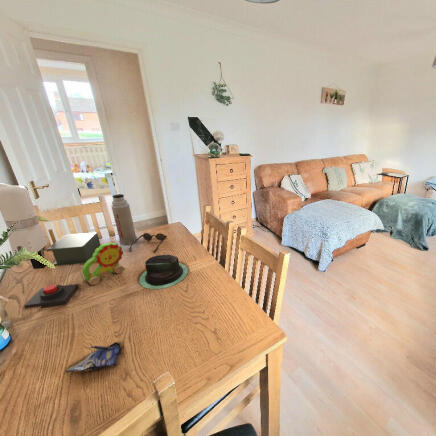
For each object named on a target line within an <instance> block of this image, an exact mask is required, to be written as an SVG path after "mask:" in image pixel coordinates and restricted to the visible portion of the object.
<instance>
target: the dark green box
mask: <svg viewBox="0 0 436 436" xmlns="http://www.w3.org/2000/svg"><path fill="white" fill-rule="evenodd" d="M100 245H102V244H101V242H100V237H99V233H98V232H95V231H94V232H79V233H66V234H63V236H61V237H60V238H59V239H56V242H55V243H54V244H53V243H52V244H51V245H49V246H48V247H47V248H45V250H46V252H52V254H53V257H54V260H55V261H54V262H53V263H52V264H54V265H55V266H54V267H56V266H67V265H78V264H85V263H86V262H87V261H88V260H89V259H90V258H92V255H93V253H94V252H95V250H96V249H97V248H99V246H100Z"/></svg>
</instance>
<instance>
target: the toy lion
mask: <svg viewBox="0 0 436 436" xmlns="http://www.w3.org/2000/svg"><path fill="white" fill-rule="evenodd" d="M123 255H124V250H123V248H122V246H120V245H119V244H117V243H115V242H114V243H113V242H112V243H111V242H107V243H102V244H101V245H100V246H99V248H97V249H96V250H95V252H94V253H93V255H92V258H90V259H89V260H88V261H87V262H86V263H83V266H82V274H83V282H84V283H85V282H86V283H89V285H91V286H96V285H98V284H100V281H101V278H102V277H104V276H105V275H108V274H111V273H115V274H121V273H122V272H123V271H124V267H123V266H122V265H120V263H119V261H121V260H122V259H123ZM95 264H97V265H98V266H97V268H95V270H93V272H91V273H90V268H91V267H92V265H95Z"/></svg>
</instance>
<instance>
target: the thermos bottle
mask: <svg viewBox="0 0 436 436" xmlns="http://www.w3.org/2000/svg"><path fill="white" fill-rule="evenodd" d="M112 198H113V199H112V201H111V210H112V215H113V218H114V222H115V226H116V231H117V236H118V239H119V243H120V245H123V246H127V245H131V244H132V243H133V242H134V241H135V240H137V239H138V238H137V234H136V231H135V225H134V221H133V216H132V212H131V206H130V204H129V202H128V200H127V199H125V194H123V193H119V194H113V195H112ZM137 241H138V240H137Z"/></svg>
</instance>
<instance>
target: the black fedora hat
mask: <svg viewBox="0 0 436 436" xmlns="http://www.w3.org/2000/svg"><path fill="white" fill-rule="evenodd" d="M144 266H145V271H144V272H143V273H141V275H140V277H139V281H138V282H139V284H140V285H141V286H142V287H143V288H146V289H148V290H149V289H150V290H160V289H166V288H170V287H173V286H175V285H177V284H178V283H180V282H182V281H183V280H184V279H185V278H186V277H187V276H188V273H189V269H188V267H187V266H186V265H185V264H183V263H181V262H179V257H177V256H176V255H172V254H168V253H167V254H165V253H163V254H158V255H157V254H156V255H153V256H151V257H149V258H148V259H147V260H145V261H144Z"/></svg>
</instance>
